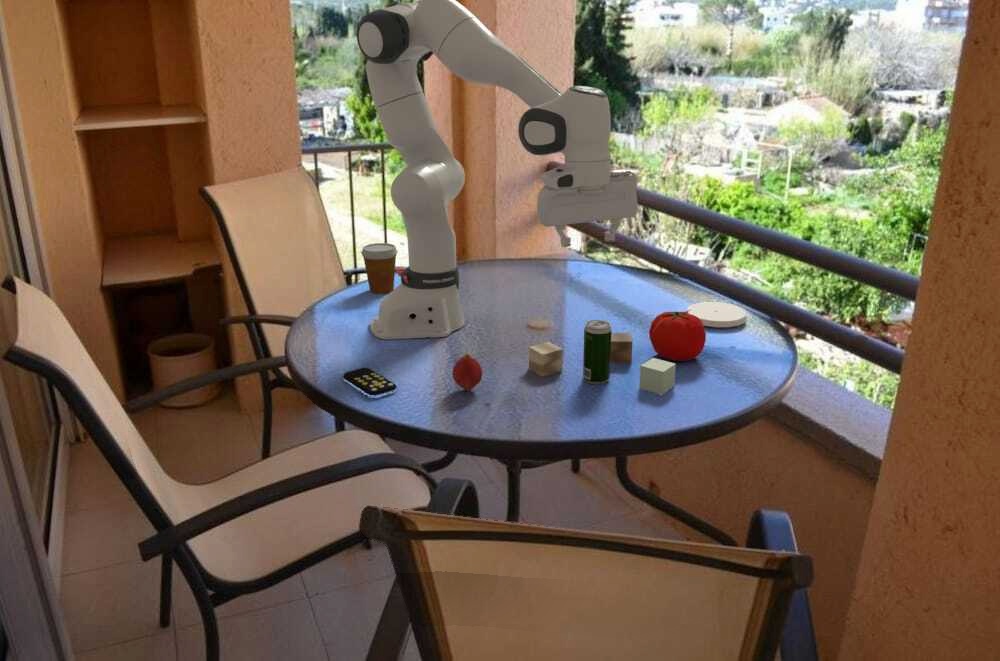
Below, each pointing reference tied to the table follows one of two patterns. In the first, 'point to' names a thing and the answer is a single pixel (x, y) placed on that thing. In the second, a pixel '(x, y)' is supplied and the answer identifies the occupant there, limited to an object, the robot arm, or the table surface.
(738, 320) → the plastic lid
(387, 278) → the disposable coffee cup
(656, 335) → the tomato
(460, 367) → the onion
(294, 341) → the table surface
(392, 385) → the remote control
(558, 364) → the beech block
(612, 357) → the walnut block
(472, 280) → the table surface
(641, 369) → the sage painted block
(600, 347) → the beer can
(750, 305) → the table surface
